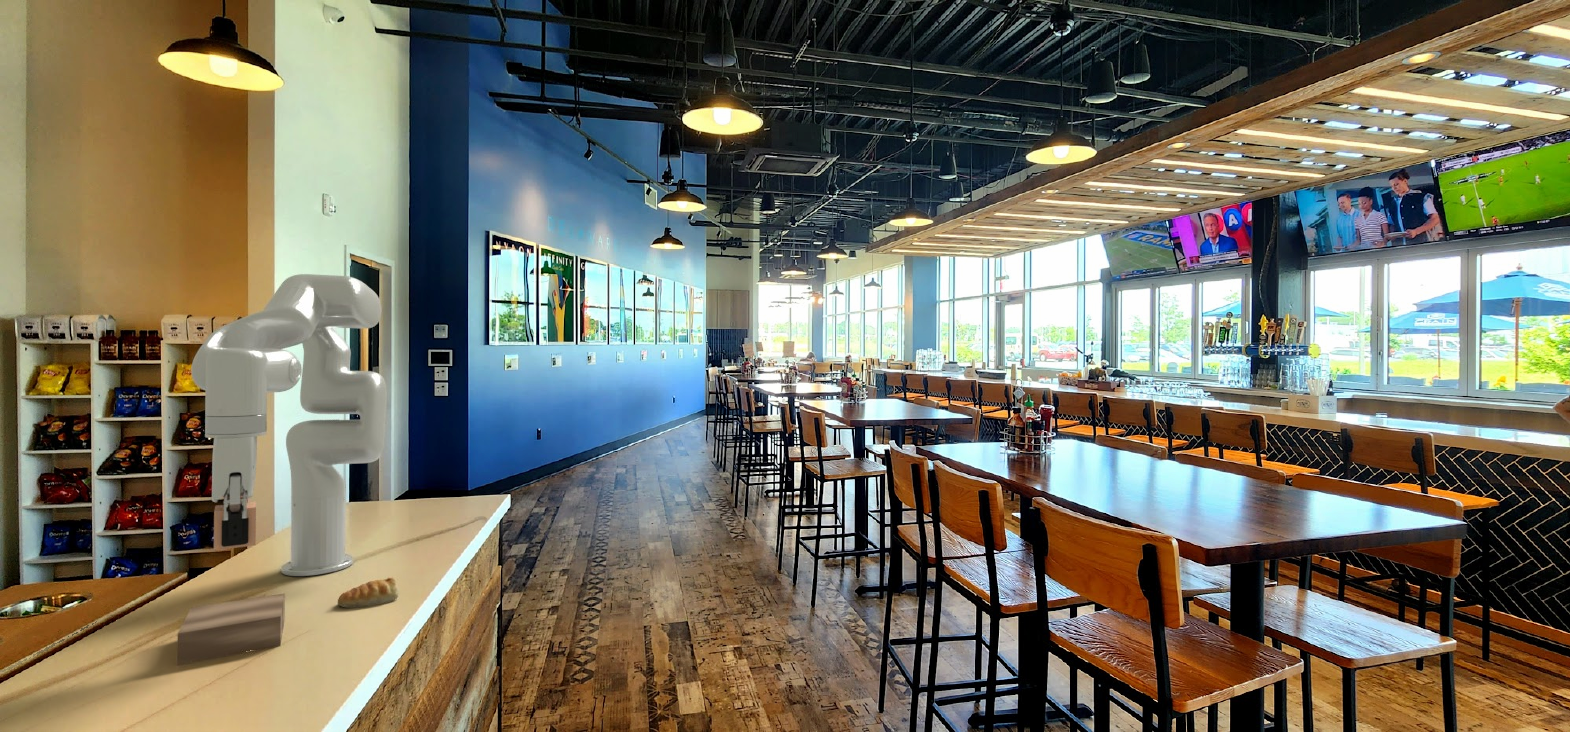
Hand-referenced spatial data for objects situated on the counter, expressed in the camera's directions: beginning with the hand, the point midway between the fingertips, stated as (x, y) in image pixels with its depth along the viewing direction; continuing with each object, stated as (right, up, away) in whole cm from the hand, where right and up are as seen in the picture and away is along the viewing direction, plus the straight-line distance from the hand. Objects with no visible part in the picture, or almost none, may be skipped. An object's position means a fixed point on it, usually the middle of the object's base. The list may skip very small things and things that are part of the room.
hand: (235, 539), depth 104 cm
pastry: (+10, -17, +18) cm, 27 cm away
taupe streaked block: (0, -17, 0) cm, 17 cm away
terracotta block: (0, -1, 0) cm, 1 cm away
